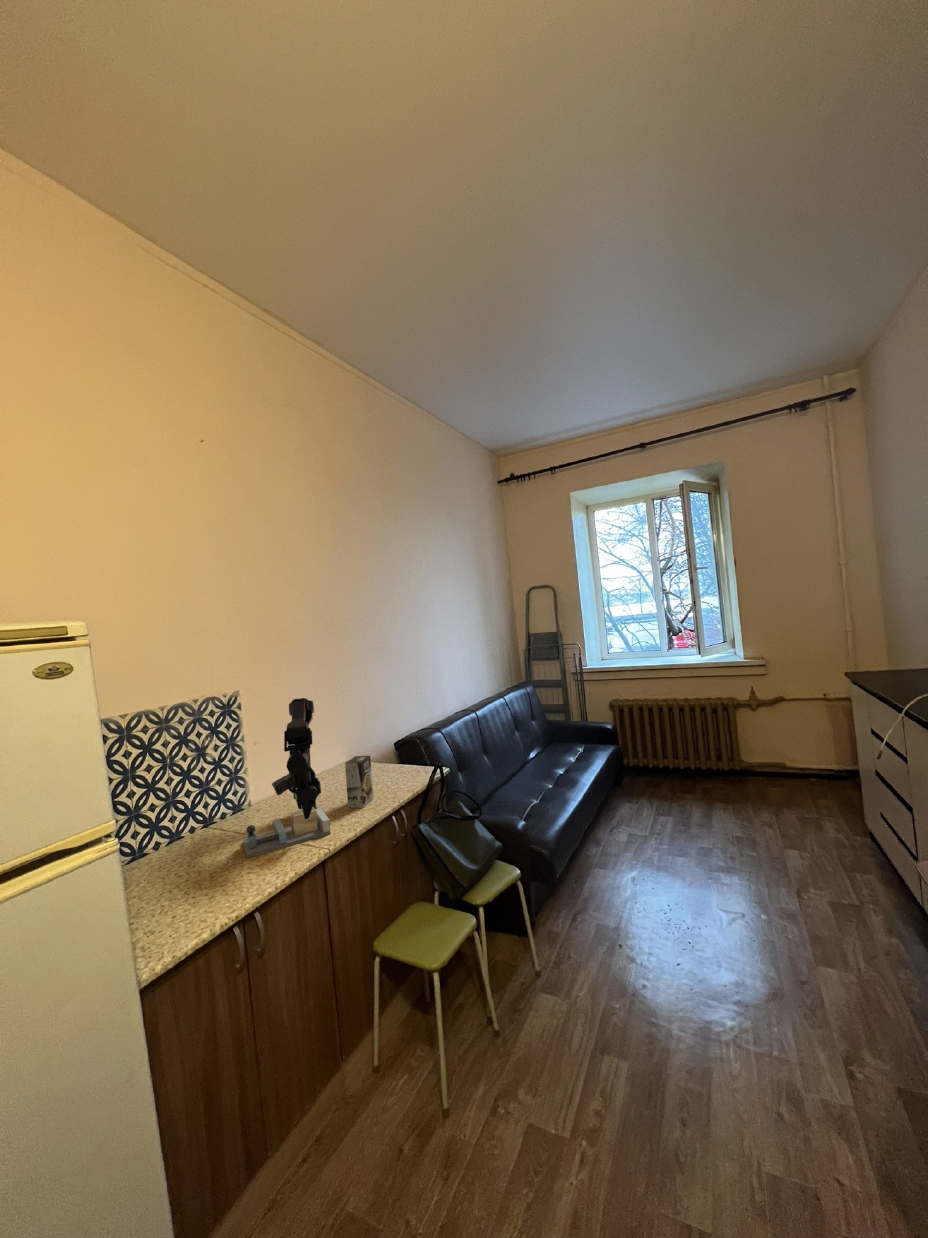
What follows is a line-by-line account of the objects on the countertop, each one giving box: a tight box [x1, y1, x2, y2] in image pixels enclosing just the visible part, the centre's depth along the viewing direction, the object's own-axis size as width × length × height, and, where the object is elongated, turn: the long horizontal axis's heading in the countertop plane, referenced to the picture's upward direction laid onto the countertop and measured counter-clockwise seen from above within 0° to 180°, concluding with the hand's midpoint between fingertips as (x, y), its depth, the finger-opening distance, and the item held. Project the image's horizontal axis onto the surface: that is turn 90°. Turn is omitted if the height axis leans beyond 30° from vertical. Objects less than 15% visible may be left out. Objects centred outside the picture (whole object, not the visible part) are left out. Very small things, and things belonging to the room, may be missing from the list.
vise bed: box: [242, 807, 331, 859], centre depth 149 cm, size 12×24×4 cm, turn 120°
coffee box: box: [344, 755, 374, 809], centre depth 175 cm, size 9×6×16 cm
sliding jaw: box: [246, 818, 287, 848], centre depth 146 cm, size 12×10×6 cm
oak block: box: [290, 807, 318, 836], centre depth 152 cm, size 5×7×6 cm
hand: (303, 814), depth 152 cm, fingers open, 9 cm apart
